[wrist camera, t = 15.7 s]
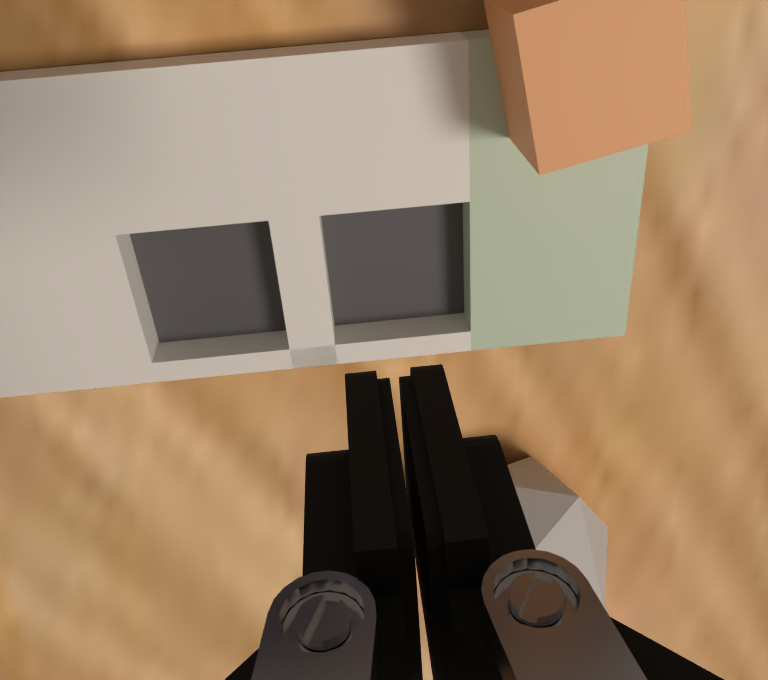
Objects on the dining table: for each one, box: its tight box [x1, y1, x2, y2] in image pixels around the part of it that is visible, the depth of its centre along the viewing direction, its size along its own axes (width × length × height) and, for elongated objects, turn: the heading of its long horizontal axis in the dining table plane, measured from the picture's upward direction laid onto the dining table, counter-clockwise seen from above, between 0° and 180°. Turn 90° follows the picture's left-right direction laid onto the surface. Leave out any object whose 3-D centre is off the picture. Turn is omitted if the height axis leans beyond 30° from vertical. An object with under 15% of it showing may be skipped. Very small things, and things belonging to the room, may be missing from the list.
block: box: [484, 0, 692, 175], centre depth 24 cm, size 5×5×4 cm
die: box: [508, 457, 608, 608], centre depth 36 cm, size 8×9×10 cm
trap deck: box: [0, 29, 648, 398], centre depth 29 cm, size 13×29×2 cm, turn 94°
